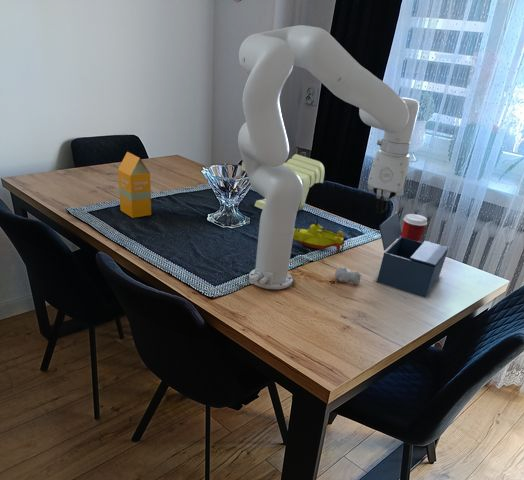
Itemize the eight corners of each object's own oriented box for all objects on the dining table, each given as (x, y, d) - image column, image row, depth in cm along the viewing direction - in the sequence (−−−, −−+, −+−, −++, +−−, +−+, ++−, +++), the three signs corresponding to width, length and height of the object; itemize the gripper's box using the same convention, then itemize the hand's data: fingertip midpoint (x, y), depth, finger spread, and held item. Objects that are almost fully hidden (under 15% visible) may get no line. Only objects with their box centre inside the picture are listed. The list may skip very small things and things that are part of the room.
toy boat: (341, 255, 163) (347, 226, 158) (288, 246, 166) (292, 217, 160) (343, 248, 169) (349, 220, 163) (291, 239, 171) (295, 211, 165)
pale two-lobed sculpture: (330, 282, 149) (341, 273, 151) (352, 291, 144) (363, 282, 147) (330, 270, 146) (340, 261, 148) (352, 280, 141) (363, 270, 144)
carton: (425, 297, 144) (435, 265, 138) (376, 282, 149) (384, 250, 144) (438, 277, 157) (448, 247, 151) (393, 264, 162) (401, 234, 156)
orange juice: (132, 218, 173) (129, 158, 162) (120, 210, 178) (116, 152, 167) (151, 214, 177) (150, 156, 166) (139, 207, 183) (137, 150, 171)
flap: (380, 225, 141) (379, 225, 141) (385, 250, 144) (383, 250, 144) (397, 211, 154) (396, 211, 154) (401, 234, 156) (400, 234, 156)
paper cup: (420, 258, 168) (432, 218, 160) (409, 264, 163) (421, 223, 155) (400, 250, 172) (411, 211, 164) (389, 256, 167) (399, 215, 160)
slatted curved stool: (268, 222, 183) (273, 173, 173) (238, 209, 191) (242, 161, 181) (318, 208, 202) (326, 163, 192) (289, 197, 210) (295, 153, 200)
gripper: (365, 144, 138) (352, 209, 148) (417, 155, 132) (400, 221, 142) (374, 140, 143) (361, 203, 153) (424, 150, 138) (407, 215, 148)
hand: (380, 211), depth 148 cm, fingers closed
